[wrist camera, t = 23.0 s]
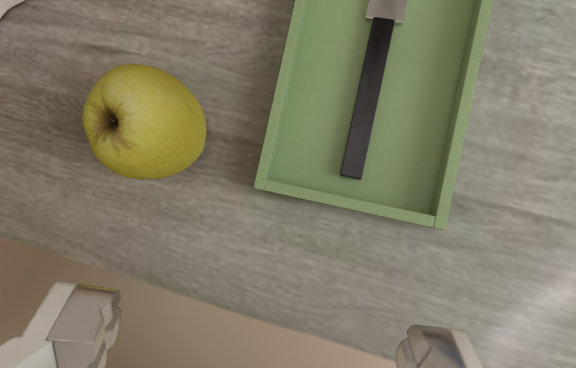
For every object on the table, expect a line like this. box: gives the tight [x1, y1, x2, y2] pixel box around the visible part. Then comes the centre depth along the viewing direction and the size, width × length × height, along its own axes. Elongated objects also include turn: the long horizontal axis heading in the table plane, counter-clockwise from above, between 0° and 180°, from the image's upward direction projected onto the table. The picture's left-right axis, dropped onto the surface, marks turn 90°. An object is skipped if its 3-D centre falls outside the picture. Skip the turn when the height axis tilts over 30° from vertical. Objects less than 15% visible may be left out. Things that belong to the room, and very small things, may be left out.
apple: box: [82, 64, 206, 180], centre depth 28 cm, size 8×8×10 cm
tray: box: [254, 0, 493, 230], centre depth 29 cm, size 14×24×2 cm, turn 167°
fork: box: [340, 0, 408, 180], centre depth 28 cm, size 3×20×3 cm, turn 168°
